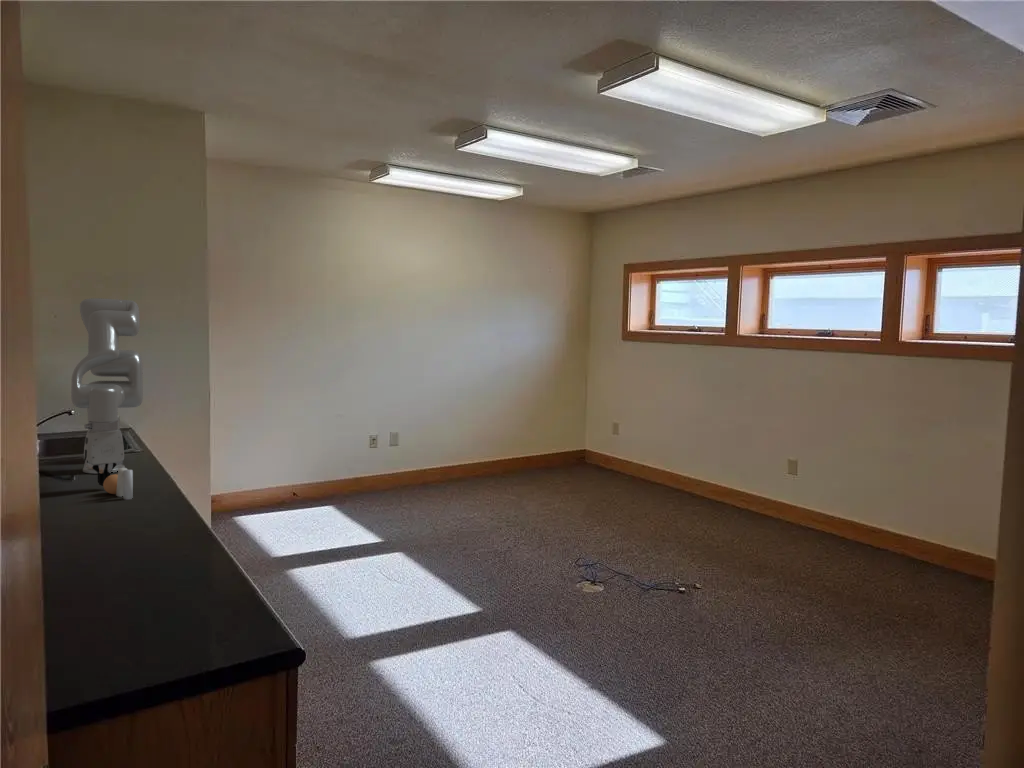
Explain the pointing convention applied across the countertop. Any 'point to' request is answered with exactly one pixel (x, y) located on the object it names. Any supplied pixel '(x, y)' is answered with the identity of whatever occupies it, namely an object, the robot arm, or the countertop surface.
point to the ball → (111, 484)
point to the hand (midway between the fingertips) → (103, 484)
